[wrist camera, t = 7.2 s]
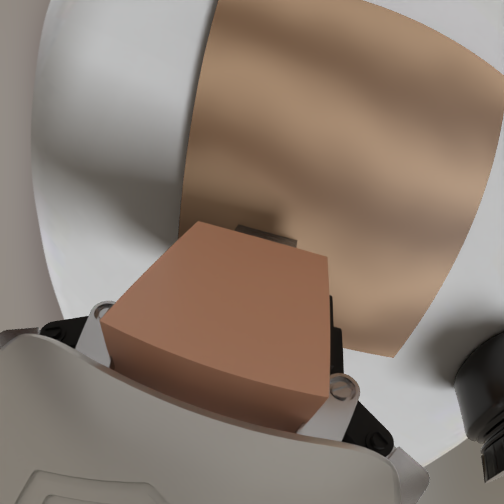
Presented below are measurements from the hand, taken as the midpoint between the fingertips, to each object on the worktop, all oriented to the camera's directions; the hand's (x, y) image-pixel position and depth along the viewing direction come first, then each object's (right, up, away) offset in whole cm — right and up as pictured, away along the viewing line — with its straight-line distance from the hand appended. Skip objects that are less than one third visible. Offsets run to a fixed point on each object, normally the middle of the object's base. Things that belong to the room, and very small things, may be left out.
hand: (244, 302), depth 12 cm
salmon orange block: (0, 0, +1) cm, 1 cm away
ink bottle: (+23, -8, +5) cm, 25 cm away
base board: (+5, +6, +2) cm, 8 cm away
